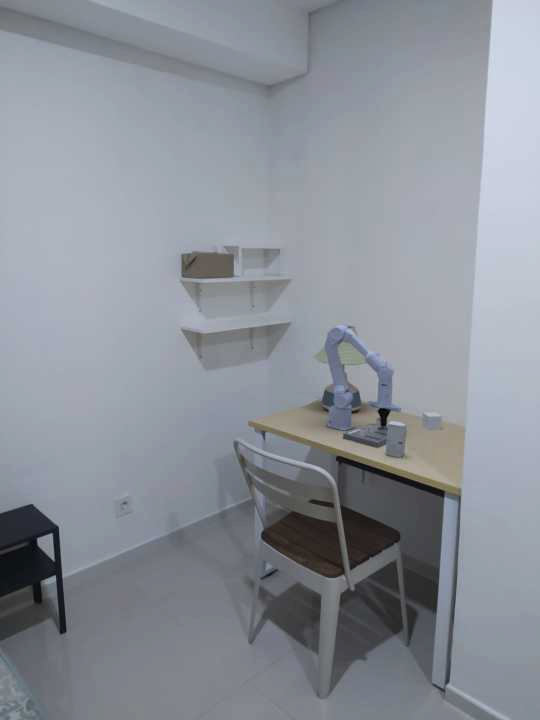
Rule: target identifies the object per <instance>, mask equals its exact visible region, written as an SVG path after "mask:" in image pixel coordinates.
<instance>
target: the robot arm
mask: <svg viewBox="0 0 540 720" xmlns="http://www.w3.org/2000/svg"><path fill="white" fill-rule="evenodd" d="M345 324H346V323H345ZM345 324H343V323H340V324H338V325H334V326H332V327H331V328H330V329H329V330H328V332H327V336H326V340H325V343H324V346H325V351H326V355H327V359H328V363H329V364H328V363H327V364H328V366H329V371H330V374H331V378H332V379H331V380H332V383H334V405H333V406H331V407H330V409H329V410H328V414H327V416H328V418H327V424H326V427H328V428H331V429H335V430H339V431H343V432H346V431H349V430H351V429H354V428H356V425H352V413H353V412H352V406H351V402H352V401H353V394H352V393H351V391H350V390H349V387H348V385H347V384H346V381H345V377H344V373H343V369H342V365H341V361H340V357H339V353H338V349H337V348H338V346H339V345H340V343H341V342H342V341H343V342H346V343H351V344H352V345H353V346H354V347H355V348H356V349H357V350H358V351H359V352H360V353H361V354H363V355H364V357H365V362H366V364H367V365H368V366H369V367H370V368H371V369H372V370H373V371H374V372H375V373H376V374H377V378H378V383H377V401H372V400H369V401H368V403H367V405H368V406H367V407H372V408H378V409H377V413H378V415H379V418H381V426H383V427H385V426H388V417H389V415H390V413H391V412H396V413H401V412H402V406H399V405H395V404H392V403H393V402H392V401H393V376H394V374H395V369H394V367H393V366H392V365H391V364H390V363H388V362H387V361H385V360H384V359H383V357H381V356H380V352H378V351H375V350H370V349H369V348H368V347H367V346H366V344H365V343H364V341H363V340H361V338H359V337H357V336H358V334H357V335H356V334H355V333H354V332H353V331H352V330H351V329H349V328H348V326H349V325H347V324H346V325H345Z"/></svg>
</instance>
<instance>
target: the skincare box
mask: <svg viewBox="0 0 540 720" xmlns="http://www.w3.org/2000/svg"><path fill="white" fill-rule="evenodd" d="M387 426H388V432H387V444H385V445H386V446H385V455H386V456H390V457H396V458H402V457H403V456H404V455H405V451H406V450H405V449H406V448H405V447H406V437H407V433H406V431H407V426H408V423H405V422H401V421H393V420H391V421H389V423H387Z"/></svg>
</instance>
